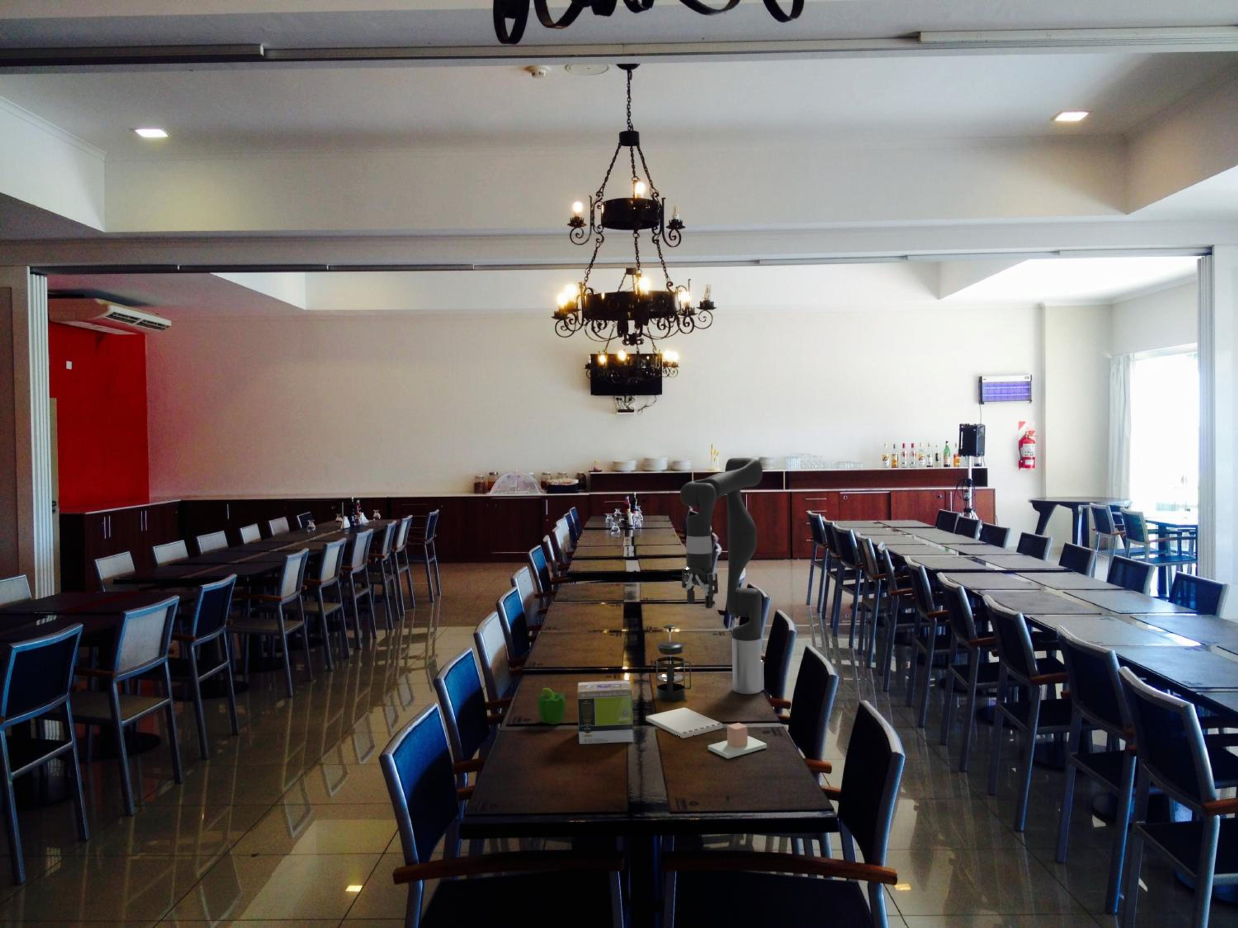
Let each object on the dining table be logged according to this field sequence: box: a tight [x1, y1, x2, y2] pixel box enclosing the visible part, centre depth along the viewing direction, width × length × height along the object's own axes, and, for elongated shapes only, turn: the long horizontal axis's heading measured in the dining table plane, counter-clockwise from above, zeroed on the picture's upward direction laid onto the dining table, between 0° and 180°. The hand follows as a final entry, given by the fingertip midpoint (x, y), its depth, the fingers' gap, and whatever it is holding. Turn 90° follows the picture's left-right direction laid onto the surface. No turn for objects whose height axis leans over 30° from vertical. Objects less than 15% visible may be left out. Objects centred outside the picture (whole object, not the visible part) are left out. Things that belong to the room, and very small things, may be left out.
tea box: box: [577, 679, 634, 745], centre depth 240 cm, size 15×10×15 cm
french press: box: [655, 624, 692, 703], centre depth 274 cm, size 12×9×23 cm
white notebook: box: [645, 707, 724, 739], centre depth 250 cm, size 18×14×1 cm
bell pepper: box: [536, 687, 567, 725], centre depth 254 cm, size 8×8×10 cm
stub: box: [707, 722, 768, 759], centre depth 229 cm, size 8×13×6 cm, turn 122°
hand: (699, 605), depth 254 cm, fingers open, 8 cm apart
